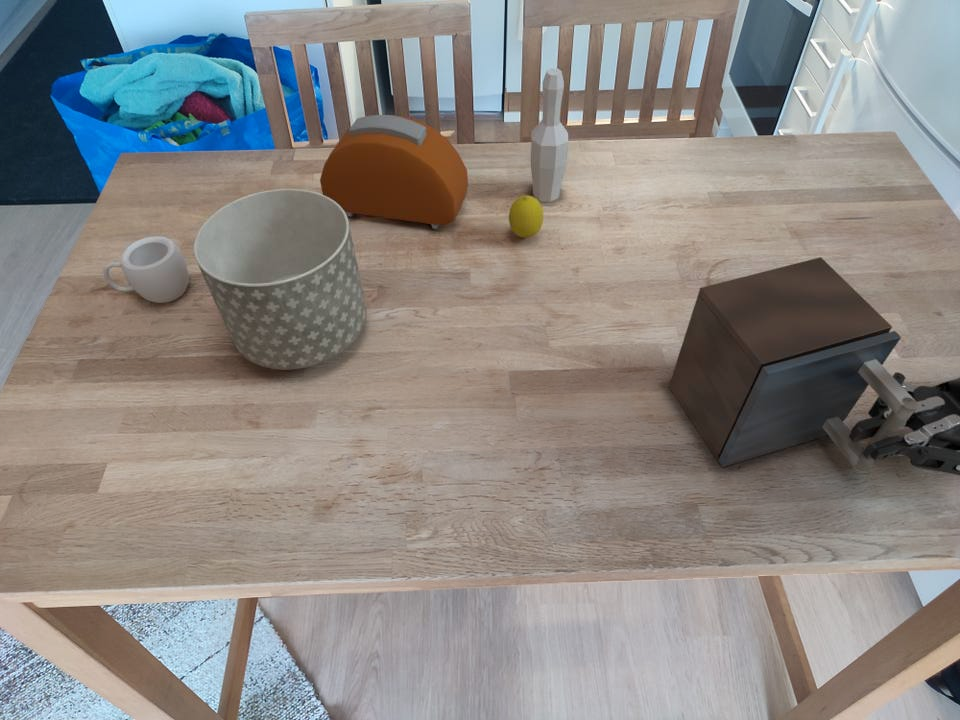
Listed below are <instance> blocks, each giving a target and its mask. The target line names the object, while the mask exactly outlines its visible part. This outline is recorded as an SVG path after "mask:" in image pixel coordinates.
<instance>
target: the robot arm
mask: <svg viewBox="0 0 960 720" xmlns="http://www.w3.org/2000/svg"><path fill="white" fill-rule="evenodd" d="M892 376H893V378H894V379H895V380H896V381H897V382H898V383H899V384H900V385H901V386H902V387H903V388H904V389H905V390H906V391H907V392H908V393H909V394H910V396H911V397H912V398H913V399H914V400H915V401H916V402H917V404H918V407H917V409H916V410H915V411H914V412H913V414H912V415H911V416H910V417H909V419H908V420H907V421H906V422H905V424H904V425H903V426H902V427H901V429H900V430H899V431H905V430H907V429H910V430H911V432H909V433H906V434H904V435H903V436H901V435H900V434H896V435H895V436H893V437H890V438H887V439H883V440H880V441H877V442H874V443H871V444H870V445H868V446H867V447H866V449H865V450H864V451H863V453H862V454H863V455H864V457H865V458H866V459H870V458H873V460H874V462H880V461H883V460H886V459H889V458H893V457H896V456H900V457H906V458H907V459H909V463H910V465H911V466H912V467H914V468H917V469H921V470H927V471H928V470H929V471H933V472H939V473H944V474H945V473H946V474H951V475H956V476H960V377H957V378H953V379H950V380H947V381H944V382H941V383H938V384H936V385H934V386H933V385H932V386H928V385H918V386H915V385H912V384H910V383H908V382H906V381H905V380H906V376H905V375H904V373H901V372H894V373H893V374H892ZM892 411H893V410H892V409H890V407H889V406H888V405H887V404H886V403H885V402H884V401H883V399H882V398H881V397H880V396H879V395H878V396H877V398H876V400H875V401H874V402H873V405H872V406H871V407H870V408H869V410H868V415H869V418H866V419H863V420H859V421H857V422H856V423H855V424H854V426H853V427H852V428H851V430H850V432H851V434H850V435H849V438H850V439H851V441H852V442H857V441H859V442H860V441H864V440H867V439H871V438H872V437H873V435H874V434H875V433H876V431H877V430H878V429H879V427H880V426H881V425H882V424H883V422H884V421H885V420H886V418H887V417H888V416H889V414H890V413H891V412H892ZM899 431H898V432H899Z"/></svg>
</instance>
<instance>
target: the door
mask: <svg viewBox="0 0 960 720" xmlns="http://www.w3.org/2000/svg"><path fill="white" fill-rule="evenodd" d="M901 338H902V335H900V334H899V333H898V332H897V331H896V330H893V331H889V333H885V334H881V335H878V336H874V337H871V338H867V339H863V340H860V341H856V342H852V343H849V344H845V345H841V346H838V347H834V348H830V349H827V350H823V351H820V352H816V353H812V354H809V355H805V356H801V357H798V358H794V359H790V360H787V361H783V362H779V363H776V364H772V365H769V366H765V367H763V368H762V370H761V372H760V374H759V376H758V378H757V380H756V382H755V384H754V387H753V389H752V391H751V393H750V395H749V397H748V399H747V401H746V403H745V405H744V408H743V410H742V412H741V414H740V416H739V418H738V420H737V422H736V424H735V426H734V429H733V431H732V433H731V435H730V437H729V439H728V441H727V443H726V445H725V447H724V450H723V452H722V454H721V456H720V458H719V459H717V461H718V463H719V465H720V466H721V468H725V467H728V466H732V465H734V464H735V465H736V464H738V463H741V462H745V461H748V460H751V459H754V458H758V457H761V456H764V455H768V454H772V453H775V452H778V451H782V450H784V449H788V448H791V447H795V446H798V445H801V444H804V443H808V442H810V441H814V440H817V439H820V438H824V437H827V436H829V438H830V439H831V440H832V442H833V443H834V444H835V446H836V447H837V448H838V449H839V450H840V451H841V453H842V454H843V455H844V456H845V457H846V460H848V462H849V463H850V464H851V465H852V467H853V468H854V469H855V470H856V471H858V472H862V473H864V472H866V471H868V470H869V468H870V467H871V466H872V464H873V463H874V462H875V461H874V460H873V458H870V459H866V458H865V457H864V455H863V454H862V453H863V451H864V450H865V449H866V447H867V446H868V445H870V444H871V443H874V442H877V441H880V440H883V439H887V438H890V437H893V436H897V434H898V432H899V430H900V429H901V427H902V426H903V425H904V424H905V422H906V421H907V420H908V419H909V417H910V416H911V415H912V414H913V412H914V411H915V410H916V409H917V407H918V404H917V402H916V401H915V400H914V399H913V398H912V397H911V396H910V394H909V393H908V392H907V391H906V390H905V389H904V388H903V387H902V386H901V385H900V384H899V383H898V382H897V381H896V380H895V379H894V378H893V374H892V373H890V372H889V371H888V370H887V369H886V367H884V366H883V365H884V363H885V362H886V360H887V359H888V358H889V356H890V354H891V353H892V351H894V349H895V347H896V346H897V345H898V343H899V342H900V340H901ZM869 386H870V388H871V389H872V390H873V391H874V392H875V393H876V394H877V395H878V397H879V396H880V397H881V398H882V399H883V401H884V402H885V403H886V404H887V405H888V408H889V409H890V410H893V411H892V412H891V413H890V414H889V416H888V417H887V418H886V420H885V421H884V422H883V424H882V425H881V426H880V427H879V429H878V430H877V431H876V433H875V434H874V435H873V437H871V438H869V441H868V442H867V443H866V445H864V446H863V445H862V442H860V441H857V442H852V441H851V439H850V438H849V435H850V434H851V432H850V431H851V430H850V429H849V428H848V427H847V425H846V424H845V423H844V422H845V420H846V419H847V418H848V416H849V415H850V413H851V412H852V410H853V409H854V407H855V406H856V404H857V403H858V401H859V400H860V398H861V397H862V395H863V394H864V393H865V391H866V389H867V388H868V387H869ZM900 431H901V430H900Z"/></svg>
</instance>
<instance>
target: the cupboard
mask: <svg viewBox="0 0 960 720" xmlns="http://www.w3.org/2000/svg"><path fill="white" fill-rule="evenodd" d="M892 329H893V326H892V325H891V324H890V323H889V322H888V320H886V319H885V318H884V317H883V316H882V315H881V314H880V313H879V312H878V311H877V310H876V309H875V308H874V307H872V305H871V304H869V302H868V301H867V300H865V299H864V297H863V296H862V295H861V294H859V292H858V291H856V290H855V289H854V287H852V285H850V284H849V283H848V282H847V280H845V279H844V278H843V277H842V276H841V275H840V274H839V273H838V272H837V271H836V270H835V269H834V268H833V267H831V265H830V264H829V263H828V262H826V260H824V259H823V258H822V257H815V258H812V259H809V260H804V261H801V262H796V263H791V264H789V265H788V264H787V265H784V266H781V267H777V268H773V269H768V270H764V271H760V272H757V273H754V274H750V275H749V274H748V275H745V276H741V277H737V278H734V279H733V278H732V279H730V280H725V281H721V282H718V283H714V284H710V285H706V286H702V287H700V288H699V290H698V293H697V296H696V300H695V303H694V306H693V309H692V312H691V316H690V318H689V322H688V325H687V328H686V331H685V334H684V337H683V340H682V344H681V347H680V350H679V353H678V357H677V359H676V362H675V365H674V368H673V371H672V374H671V378H670V381H669V384H668V388H669V390H670V391H671V393H672V394H673V396H674V397H675V399H676V400H677V402H678V403H679V405H680V407H681V408H682V410H683V411H684V413H685V414H686V416H687V417H688V419H689V420H690V422H691V423H692V425H693V426H694V428H695V430H696V431H697V432H698V434H699V435H700V437H701V438H702V440H703V442H704V443H705V444H706V446H707V447H708V449H709V450H710V452H711V453H712V455H713V456H714V458H715V460H719V458H720V456H721V454H722V452H723V450H724V447H725V445H726V443H727V441H728V439H729V437H730V435H731V433H732V431H733V429H734V426H735V424H736V422H737V420H738V418H739V416H740V414H741V412H742V410H743V408H744V405H745V403H746V401H747V399H748V397H749V395H750V393H751V391H752V389H753V387H754V384H755V382H756V380H757V378H758V376H759V374H760V372H761V370H762V368H763V367H765V366H769V365H772V364H776V363H779V362H783V361H787V360H790V359H794V358H798V357H801V356H805V355H809V354H812V353H816V352H820V351H823V350H827V349H830V348H834V347H838V346H841V345H845V344H849V343H852V342H856V341H860V340H863V339H867V338H871V337H874V336H878V335H881V334H885V333H889V332H891V330H892Z"/></svg>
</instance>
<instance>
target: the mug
mask: <svg viewBox="0 0 960 720" xmlns="http://www.w3.org/2000/svg"><path fill="white" fill-rule="evenodd" d="M112 268H121V270H122V273H123V275H124V277H125V278H126V280H127V282H128V283H129V285H130V286H122V285H119V284H117V283H116V282H115V281H113V279H112V278H111V276H110V269H112ZM102 272H103V277H104V280H105V281H106V283H107V284H108V285H109V286H110V287H111V288H113V289H115V290H117V291H120V292H132V291H134V292H136V293H137V294H139V295H140V296H141V297H142V298H144V299H145V300H147V301H148V302H152V303H155V304H156V303H157V304H167V303H169V302H173V301H175V300H177V299H179V298H180V297H181V296H183V294H184V293H185V292H186V290H187V288H188V286H189V279H190V277H189V269H188V265H187V262H186V260H185V257H184V255H183V253H182V251H181V250H180V248H179V247H178V246H177V244H176V243H175V242H173V241H172V240H171V239H169V238H167V237H164V236H157V235H155V236H154V235H153V236H148V237H143V238H140V239H138V240H135V241H134V242H132V243H131V244H129V245H127V247H125V249H123V251H122V252H121V255H120V261H112V262H109V263H107V264H106V265H105V266H104V267H103V271H102Z"/></svg>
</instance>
